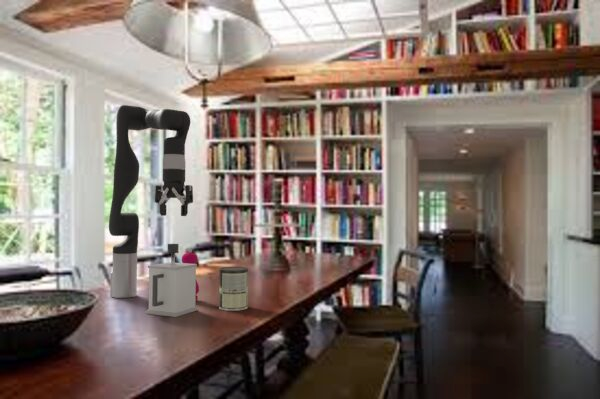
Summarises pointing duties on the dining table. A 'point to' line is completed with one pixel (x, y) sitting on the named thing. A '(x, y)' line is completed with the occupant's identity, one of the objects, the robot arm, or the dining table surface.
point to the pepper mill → (191, 259)
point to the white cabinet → (172, 289)
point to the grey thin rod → (173, 251)
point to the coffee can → (233, 288)
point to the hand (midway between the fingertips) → (173, 215)
